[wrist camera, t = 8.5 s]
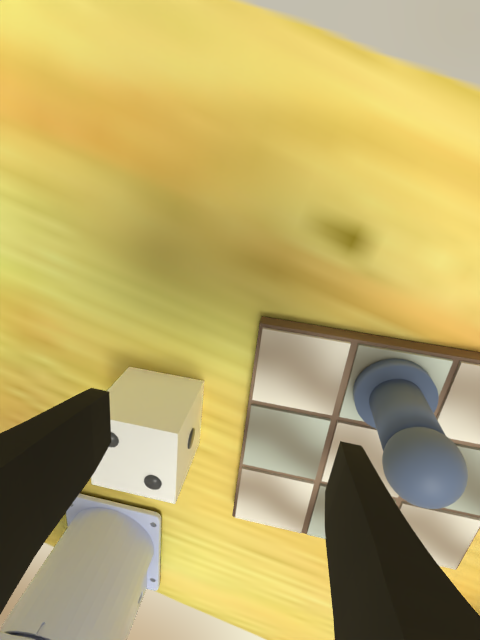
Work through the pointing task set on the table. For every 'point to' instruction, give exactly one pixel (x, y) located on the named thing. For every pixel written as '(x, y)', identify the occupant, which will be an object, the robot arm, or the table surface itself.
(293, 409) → the board
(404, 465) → the pawn
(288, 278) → the table surface
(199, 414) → the die
